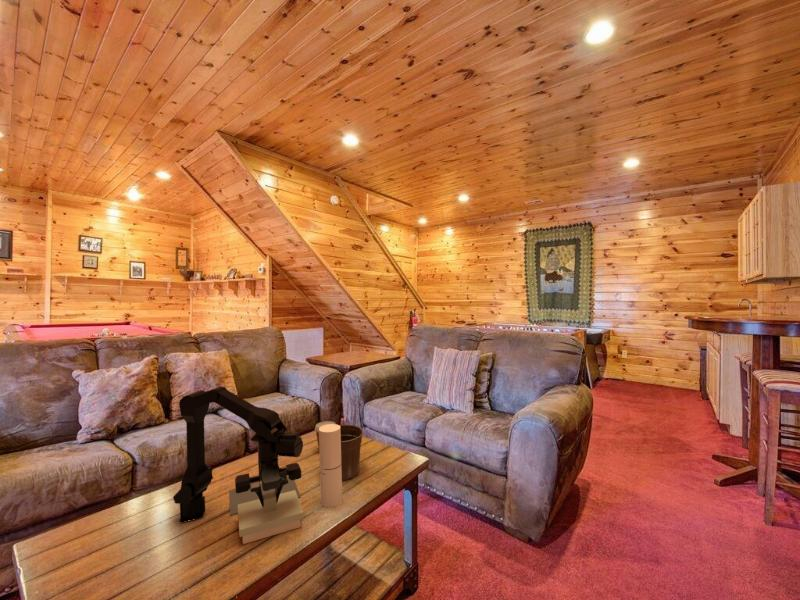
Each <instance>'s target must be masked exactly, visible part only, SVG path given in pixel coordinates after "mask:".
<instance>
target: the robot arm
mask: <svg viewBox="0 0 800 600" xmlns="http://www.w3.org/2000/svg"><path fill="white" fill-rule="evenodd" d="M212 403H215V404H216V405H218V406H219V407H221V408H223V409H225V410H227V411H228V412H230V413H232V414H233V415H235V416H236V417H239V418H240V419H242V420H244V421H245V422H246V424H247V425H248V427H249V429H250V430H252V431H253V432H254V433H255V434H254V435H253V436H252V437H251V438H250V441H251V442H257V460H258V461H257V463H258V464H257V466H258V469H257V470H258V474H257V475H255V476H251V477H250V473H243V474H239V475H236V476H235V478H234V484H235V486H234V489H236V493H242V492H246V491H248V490H249V489H250V491H251V492H255V493H256V494H257V496H258V497H259V500H260V502H261V505H262V507H264V501H263V496H262V490H261V485H260V483H262V489H263V491H268V490H271V489H275V495H276V503H277V502H278V499H279V496H280V492H281V490H282V488H283V486H284V485H285V484H287V483H288V479H287V477H289V479H290V480H291V481H292V480H295V481H296V480H300V479H301V478H302V469H301V466H300V464H299V463H297V462H293V463H289V464H286V465H285V467H280V466H279V457H289V458H299V457H300V456H301V454H302V452H303V447H304V441H303V439H302V437H301V436H300V433H299V432H288V428H287V427H286V426H285V423H283V421H282V419H281V418H280V415H279V414H278V412H276V411H275V410H272V409H269V408H266V407H259V406H256V405H254V404H252V403H250V402H249V401H247V400H246V399H243V398H242V397H240V396H238V395H237V394H235V393H234V392H231V391H230V390H228V389H227V388H226V387H225V386H217V387H215V388H212V389H208V390H206V391H205V390H203V389H200V390H196V391H194V392H191V393H189V394H186V395H184V396H182V398H180V400H179V402H178V405H179V412H180V416H181V417H182V419H183V420H184V421H185V423H186V425H185V427H186V469H185V471H184V474H183V475H182V478H181V484H180V489H179V490H178V491H177V492H176V493H175V494H174V495H173V497H172V498H173V502H174V504H178V505H179V514H180V515H179V522H184V521H188V520H192V521H194V520H193V519H195V520H200V519H203V518H204V514H205V512H206V496H205V495H204V492H205V491H207V490H208V487H209V485H211V483H212V480H213V479H214V476H213V467H212V466H208V465H207V464H206V455H205V454H206V452H205V451H206V449H205V418H206V416H207V414H208V412H209V409H210V404H212ZM272 431H274V432H273V433H272ZM188 522H189V521H188ZM184 523H185V522H184Z"/></svg>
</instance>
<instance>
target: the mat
mask: <svg viewBox="0 0 800 600" xmlns="http://www.w3.org/2000/svg"><path fill="white" fill-rule="evenodd" d="M287 479H288V483H287V484H285V485H284V486H283V488H282V490H281V492H280V494H282V493H286V492H289V491H293V490H295V491H296V493H297V496H298V499H301V495H300V492H299V488H298V486H297V484H296V480H292V481H291V480H290V479H289V477H287ZM260 485H261V490H262V496H263V494H265V493H270V492H274V491H275V489H271V490H268V491H263V489H262V482H260ZM258 499H259V497H258V496H257V494H256V493H255V492H251V491H250V489H249V490H248V491H246V492H242V493H236V489H235V488H234V489H230V490H229V511H230V512H229V513H230V515H229V516H230V517H231V516H235V515H238V504H242V503H246V502H250V501H254V500H258Z"/></svg>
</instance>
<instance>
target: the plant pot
mask: <svg viewBox="0 0 800 600" xmlns="http://www.w3.org/2000/svg"><path fill="white" fill-rule="evenodd" d="M338 425H339V426H340V430H341V469H342V482H343V481H344V482H345V481H349V479H353V478H355V477H357V476H358V475H359V472H360V460H361V459H360V457H361V445H362V442H363V435H364V430H363V428H362V427H360V426H358V425H354V424H338Z"/></svg>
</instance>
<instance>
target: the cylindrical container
mask: <svg viewBox="0 0 800 600" xmlns="http://www.w3.org/2000/svg"><path fill="white" fill-rule="evenodd" d="M339 425H340V424H327V425H323V426H321V427H320V428H319V447H318V453H319V478H320V479H319V480H320V481H319V485H320V490H319V491H320V505H321V506H322V507H326V508H335V507H338V506H339V505H340V504H341V503H342V502H343V481H342V469H341V430H340V426H339Z"/></svg>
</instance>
